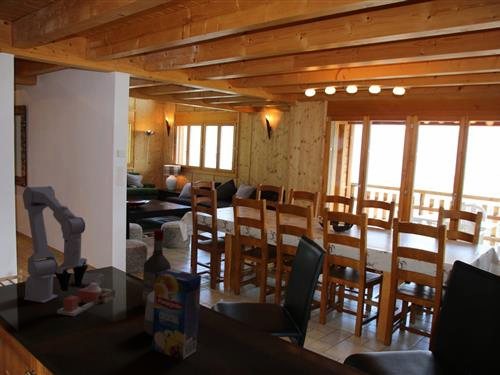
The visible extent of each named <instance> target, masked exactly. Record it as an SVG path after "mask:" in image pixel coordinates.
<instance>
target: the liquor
mask: <svg viewBox="0 0 500 375" xmlns="http://www.w3.org/2000/svg"><path fill="white" fill-rule="evenodd" d="M164 233H165V232H164V230H163V229H154V232H153V252H152V254H151V256H150V257H149V258H147V259H146V260H145V262H144V263H143V274H142V275H143V277H142V295H141V296H142V297H141V298H142V299H141V304H142V307H143V308H144V309H146V304H147V297H148V295H149V294H150V293H151V292H152V291H155V274H156V273H159V272H162V271H165V270H168V269H172V268H171V267H172V266H171V264H170V261H169V260H168V258H167V257H166V256H165V255H164V252H163V251H164V250H163V247H164V246H163V245H164V243H163V242H164Z"/></svg>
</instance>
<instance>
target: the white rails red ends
mask: <svg viewBox="0 0 500 375" xmlns="http://www.w3.org/2000/svg"><path fill="white" fill-rule="evenodd" d="M82 289H83V288H80V289H78V290H77V296H76V295H71V294H70V295H68V296H65V297H64V298H63V301H62V302H63V305H62V306H63V307H61V308H59V309H57V310H56V314H60V315H65V316H71V317H76V315H78V314H81V313H83V311H85V310H87V309H89V308H91V307H92V306H96V305H98V304H99V297H98V292H95V291H88V290H82ZM82 302H83V303H84V305H82V306H79V304H81V303H82ZM78 303H79V304H78Z"/></svg>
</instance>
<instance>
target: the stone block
mask: <svg viewBox="0 0 500 375" xmlns="http://www.w3.org/2000/svg"><path fill="white" fill-rule="evenodd" d="M93 282H94V283H97V284H98V286H99V287H100V286H101V285H102V284H103V283H105V275H104V274H103V273H101V272H99V273H98V272H96V273H87V272H85V273H84V276H83V279H82V282H81V285H79V286H81V287H84V288H85V287H87V286H89V284H90V283H93ZM72 283H73V284H74V285H76V284H75V281H74V278H73V280H72Z"/></svg>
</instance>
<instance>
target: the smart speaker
mask: <svg viewBox="0 0 500 375" xmlns="http://www.w3.org/2000/svg"><path fill="white" fill-rule="evenodd" d="M154 293H155V291H152V292H151V293H150V294H149V295H148V297H147V304H146V308H145V313H144V322H143V325H144V327H143V328H144V330H145V333H146V334H147V335H149V336H150V337H152V335H153V314H154Z"/></svg>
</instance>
